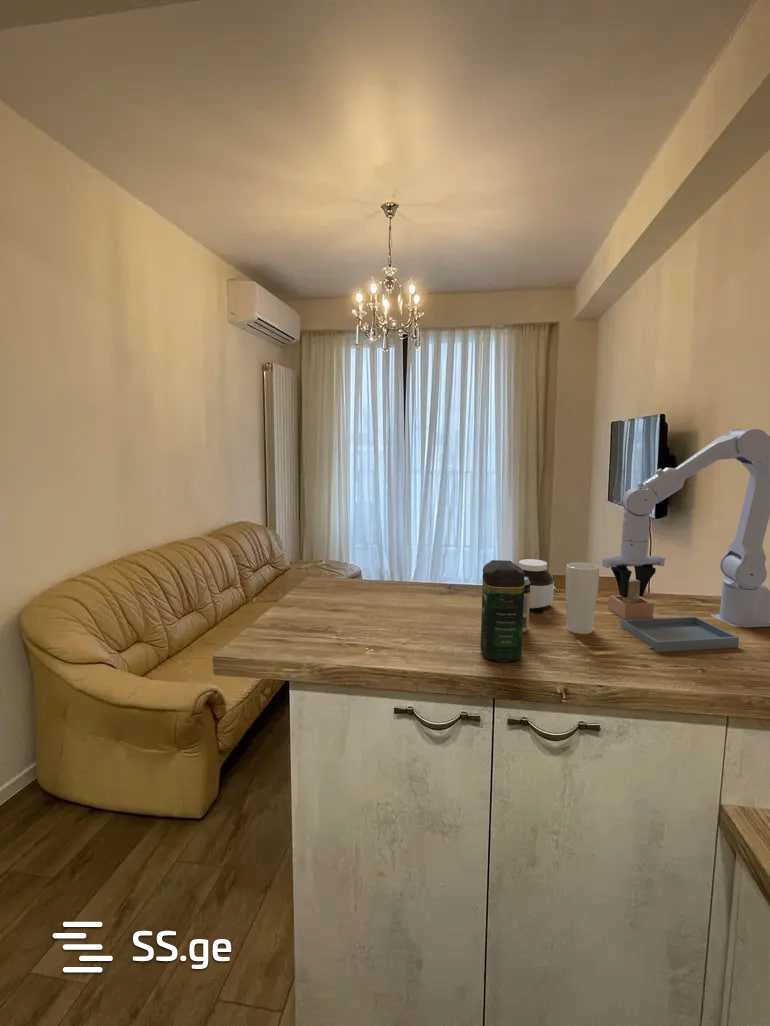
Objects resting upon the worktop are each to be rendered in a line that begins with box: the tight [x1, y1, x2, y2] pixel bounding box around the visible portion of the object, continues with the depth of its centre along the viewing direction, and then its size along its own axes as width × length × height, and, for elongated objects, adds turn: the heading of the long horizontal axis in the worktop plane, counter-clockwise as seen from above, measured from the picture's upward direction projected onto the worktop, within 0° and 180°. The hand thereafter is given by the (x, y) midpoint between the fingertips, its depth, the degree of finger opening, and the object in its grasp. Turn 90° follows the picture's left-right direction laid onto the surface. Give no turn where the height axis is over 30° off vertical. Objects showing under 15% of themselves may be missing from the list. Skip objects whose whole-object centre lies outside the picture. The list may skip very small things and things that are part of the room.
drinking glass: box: [565, 561, 600, 635], centre depth 120 cm, size 7×7×15 cm
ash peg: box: [623, 578, 640, 604], centre depth 131 cm, size 4×4×8 cm
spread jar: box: [518, 558, 555, 613], centre depth 136 cm, size 12×11×12 cm
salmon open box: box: [607, 594, 655, 620], centre depth 131 cm, size 7×7×4 cm
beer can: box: [522, 576, 530, 634], centre depth 121 cm, size 5×5×12 cm
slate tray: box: [620, 615, 740, 653], centre depth 117 cm, size 18×13×2 cm
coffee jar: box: [480, 559, 525, 663], centre depth 108 cm, size 10×8×19 cm
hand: (631, 595), depth 131 cm, fingers closed on ash peg, 3 cm apart
